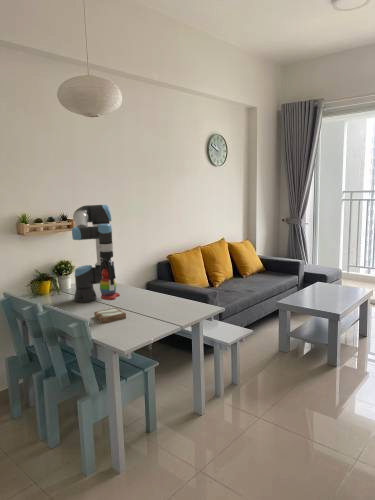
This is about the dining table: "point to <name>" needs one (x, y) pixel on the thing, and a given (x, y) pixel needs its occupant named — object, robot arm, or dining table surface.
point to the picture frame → (110, 315)
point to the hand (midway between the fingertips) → (108, 288)
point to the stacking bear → (107, 287)
